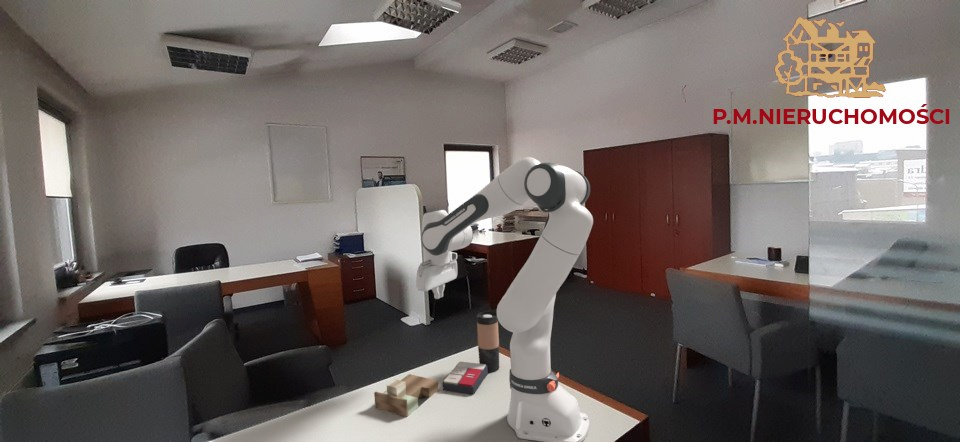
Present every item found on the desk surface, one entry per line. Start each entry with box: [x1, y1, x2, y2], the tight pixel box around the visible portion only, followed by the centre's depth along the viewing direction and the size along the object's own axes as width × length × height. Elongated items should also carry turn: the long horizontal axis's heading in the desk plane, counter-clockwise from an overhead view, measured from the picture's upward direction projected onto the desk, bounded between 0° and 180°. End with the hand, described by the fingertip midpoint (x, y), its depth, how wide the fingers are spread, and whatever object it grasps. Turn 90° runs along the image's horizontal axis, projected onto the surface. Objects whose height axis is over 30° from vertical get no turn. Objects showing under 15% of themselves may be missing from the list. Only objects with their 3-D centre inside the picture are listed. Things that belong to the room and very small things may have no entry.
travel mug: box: [476, 311, 500, 374], centre depth 142 cm, size 8×8×20 cm
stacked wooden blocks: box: [373, 374, 440, 418], centre depth 124 cm, size 12×17×5 cm
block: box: [386, 379, 406, 398], centre depth 120 cm, size 4×4×4 cm
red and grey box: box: [442, 361, 489, 396], centre depth 133 cm, size 11×4×15 cm
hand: (438, 297), depth 133 cm, fingers closed
